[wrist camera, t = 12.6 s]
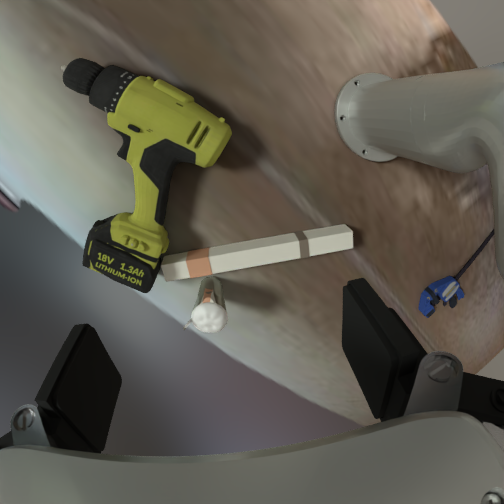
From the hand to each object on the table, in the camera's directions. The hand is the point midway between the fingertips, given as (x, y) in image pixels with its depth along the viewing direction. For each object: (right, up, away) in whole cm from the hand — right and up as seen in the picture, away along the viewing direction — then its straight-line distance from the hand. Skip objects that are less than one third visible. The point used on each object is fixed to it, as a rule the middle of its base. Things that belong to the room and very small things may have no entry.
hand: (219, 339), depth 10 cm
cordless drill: (-17, +15, +26) cm, 34 cm away
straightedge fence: (+2, +4, +32) cm, 32 cm away
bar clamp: (+45, +2, +37) cm, 59 cm away
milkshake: (-5, -2, +34) cm, 34 cm away
